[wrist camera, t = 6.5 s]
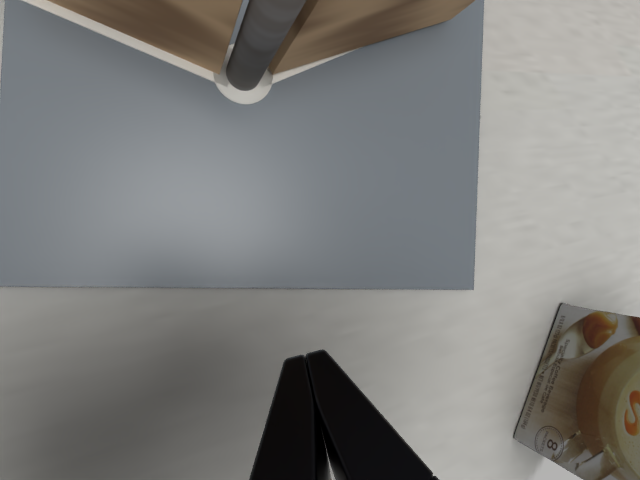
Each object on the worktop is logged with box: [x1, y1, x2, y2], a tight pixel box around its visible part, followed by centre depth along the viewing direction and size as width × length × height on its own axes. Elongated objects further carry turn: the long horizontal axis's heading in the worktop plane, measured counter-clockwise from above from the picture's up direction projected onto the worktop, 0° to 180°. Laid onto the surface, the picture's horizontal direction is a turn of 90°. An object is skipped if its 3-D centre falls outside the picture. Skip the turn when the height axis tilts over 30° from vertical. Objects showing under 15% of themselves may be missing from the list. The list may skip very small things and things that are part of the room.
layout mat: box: [0, 0, 484, 290], centre depth 21 cm, size 18×23×1 cm
